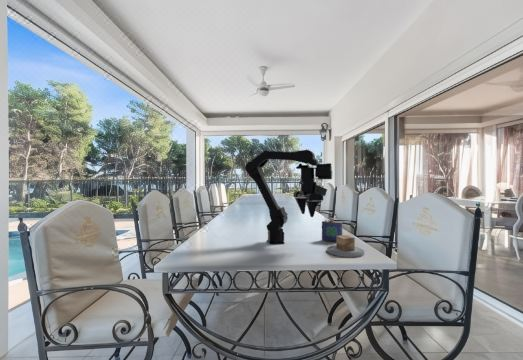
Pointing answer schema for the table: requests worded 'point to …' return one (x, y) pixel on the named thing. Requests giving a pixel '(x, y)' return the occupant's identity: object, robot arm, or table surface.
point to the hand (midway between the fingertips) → (307, 215)
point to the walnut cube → (345, 243)
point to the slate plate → (345, 252)
